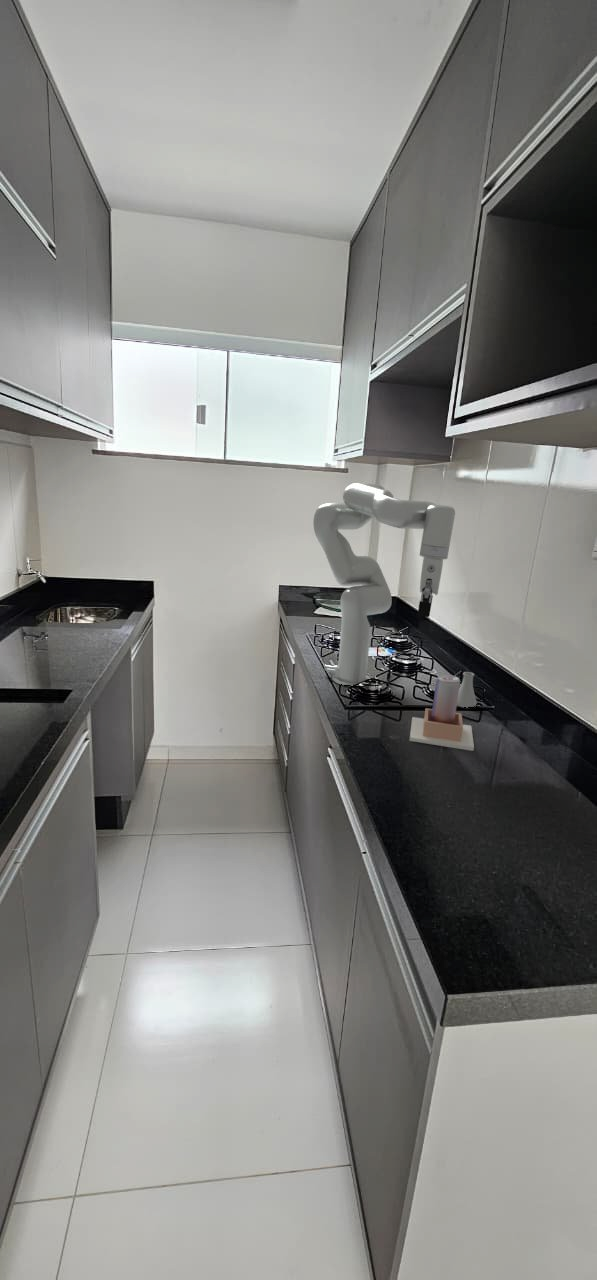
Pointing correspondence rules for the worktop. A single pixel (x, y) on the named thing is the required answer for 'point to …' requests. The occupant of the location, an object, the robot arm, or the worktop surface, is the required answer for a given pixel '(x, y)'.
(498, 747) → the worktop surface
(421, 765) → the worktop surface
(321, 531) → the robot arm
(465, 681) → the flask
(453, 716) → the beverage can
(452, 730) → the socket plate
